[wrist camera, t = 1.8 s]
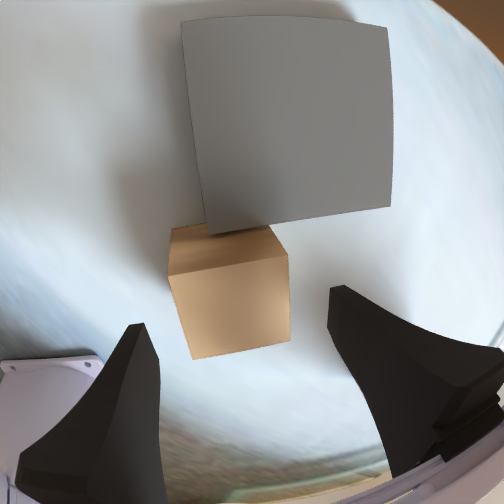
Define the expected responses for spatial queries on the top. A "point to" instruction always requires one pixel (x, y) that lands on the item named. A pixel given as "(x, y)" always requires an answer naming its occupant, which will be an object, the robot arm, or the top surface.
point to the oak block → (229, 289)
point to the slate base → (289, 117)
